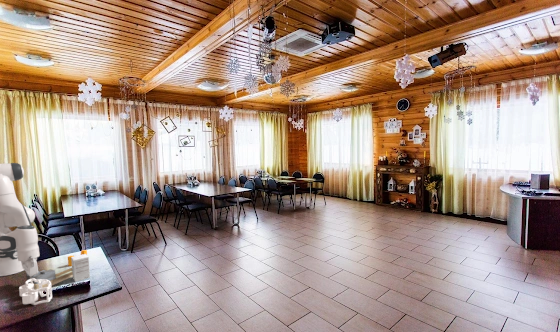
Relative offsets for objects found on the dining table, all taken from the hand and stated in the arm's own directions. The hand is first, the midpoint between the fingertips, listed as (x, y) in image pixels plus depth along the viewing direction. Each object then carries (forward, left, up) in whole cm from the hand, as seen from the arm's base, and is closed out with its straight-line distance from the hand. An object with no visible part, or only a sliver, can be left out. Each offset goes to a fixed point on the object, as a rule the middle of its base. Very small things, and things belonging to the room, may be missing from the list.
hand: (31, 279), depth 152 cm
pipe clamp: (-8, +31, -4) cm, 32 cm away
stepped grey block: (0, +1, -4) cm, 4 cm away
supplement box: (+18, +15, -4) cm, 23 cm away
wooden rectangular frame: (+7, +9, -4) cm, 12 cm away
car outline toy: (+17, -8, -4) cm, 19 cm away
